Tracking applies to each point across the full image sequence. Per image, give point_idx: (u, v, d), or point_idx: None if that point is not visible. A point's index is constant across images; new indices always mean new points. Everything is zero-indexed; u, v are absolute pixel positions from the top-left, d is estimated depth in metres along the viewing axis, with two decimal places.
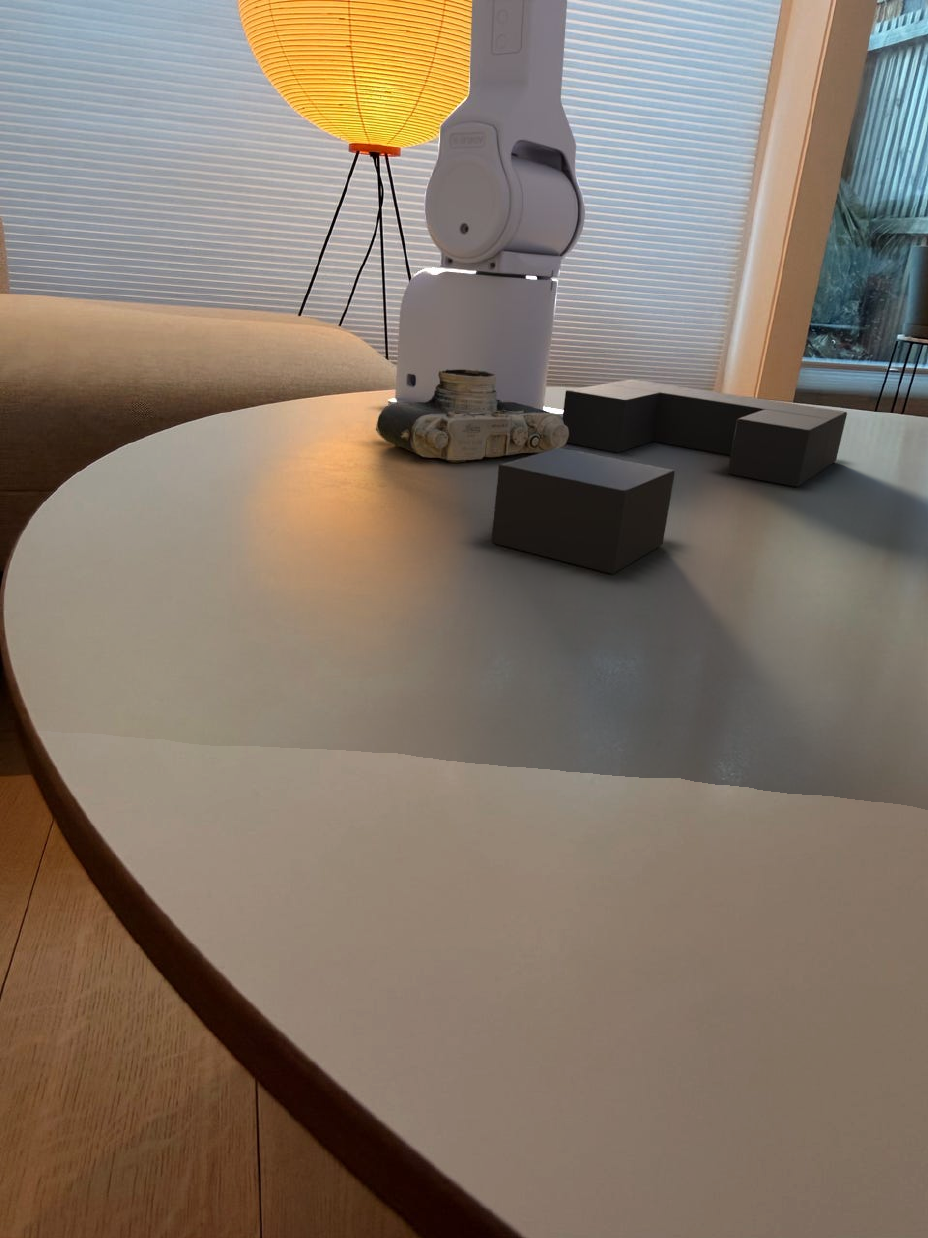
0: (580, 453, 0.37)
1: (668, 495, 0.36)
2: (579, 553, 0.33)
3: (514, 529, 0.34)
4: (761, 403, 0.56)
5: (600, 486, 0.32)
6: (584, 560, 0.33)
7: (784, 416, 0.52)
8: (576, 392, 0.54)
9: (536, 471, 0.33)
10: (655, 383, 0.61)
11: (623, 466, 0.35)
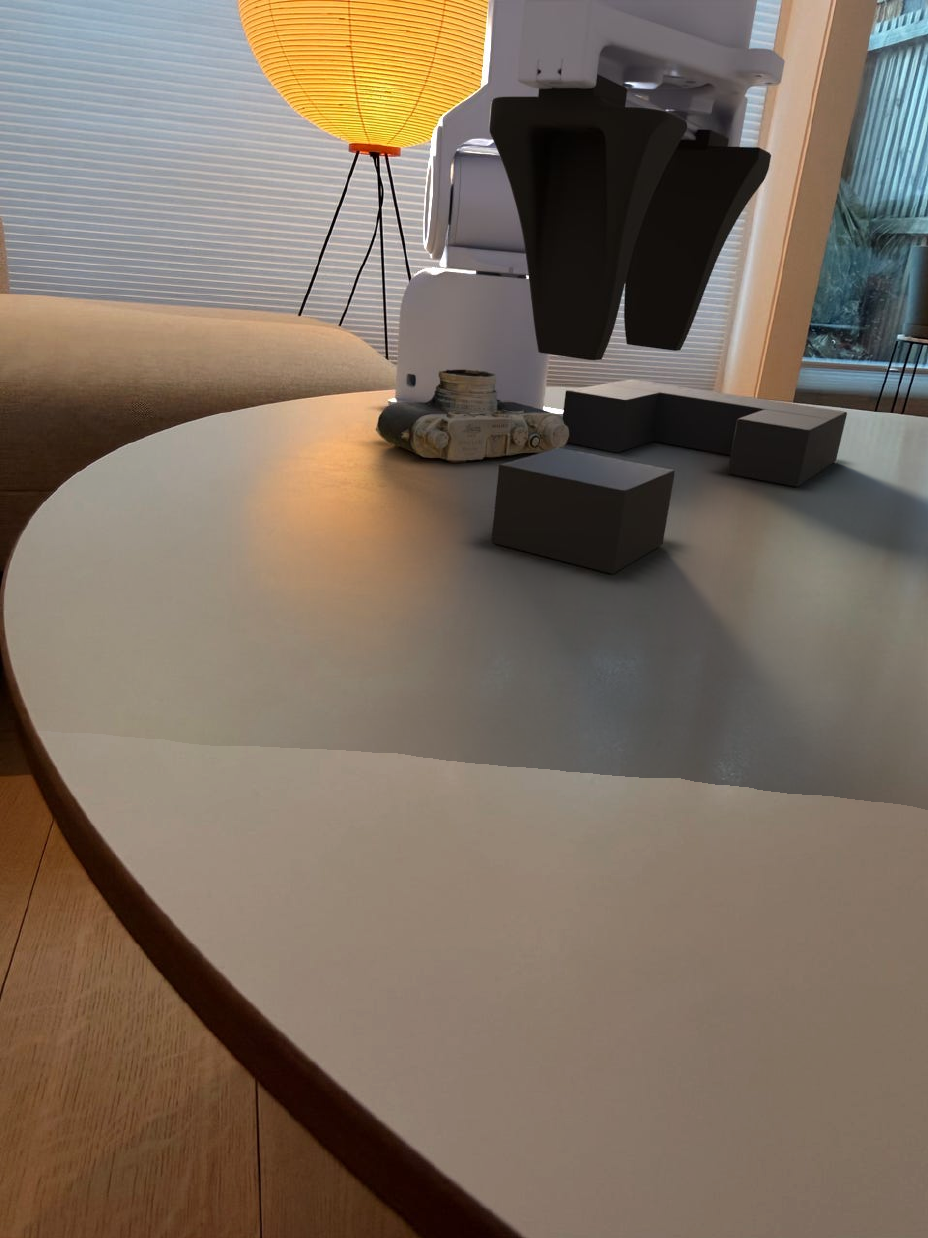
0: (580, 453, 0.37)
1: (668, 495, 0.36)
2: (579, 553, 0.33)
3: (514, 529, 0.34)
4: (761, 403, 0.56)
5: (600, 486, 0.32)
6: (584, 560, 0.33)
7: (784, 416, 0.52)
8: (576, 392, 0.54)
9: (536, 471, 0.33)
10: (655, 383, 0.61)
11: (623, 466, 0.35)
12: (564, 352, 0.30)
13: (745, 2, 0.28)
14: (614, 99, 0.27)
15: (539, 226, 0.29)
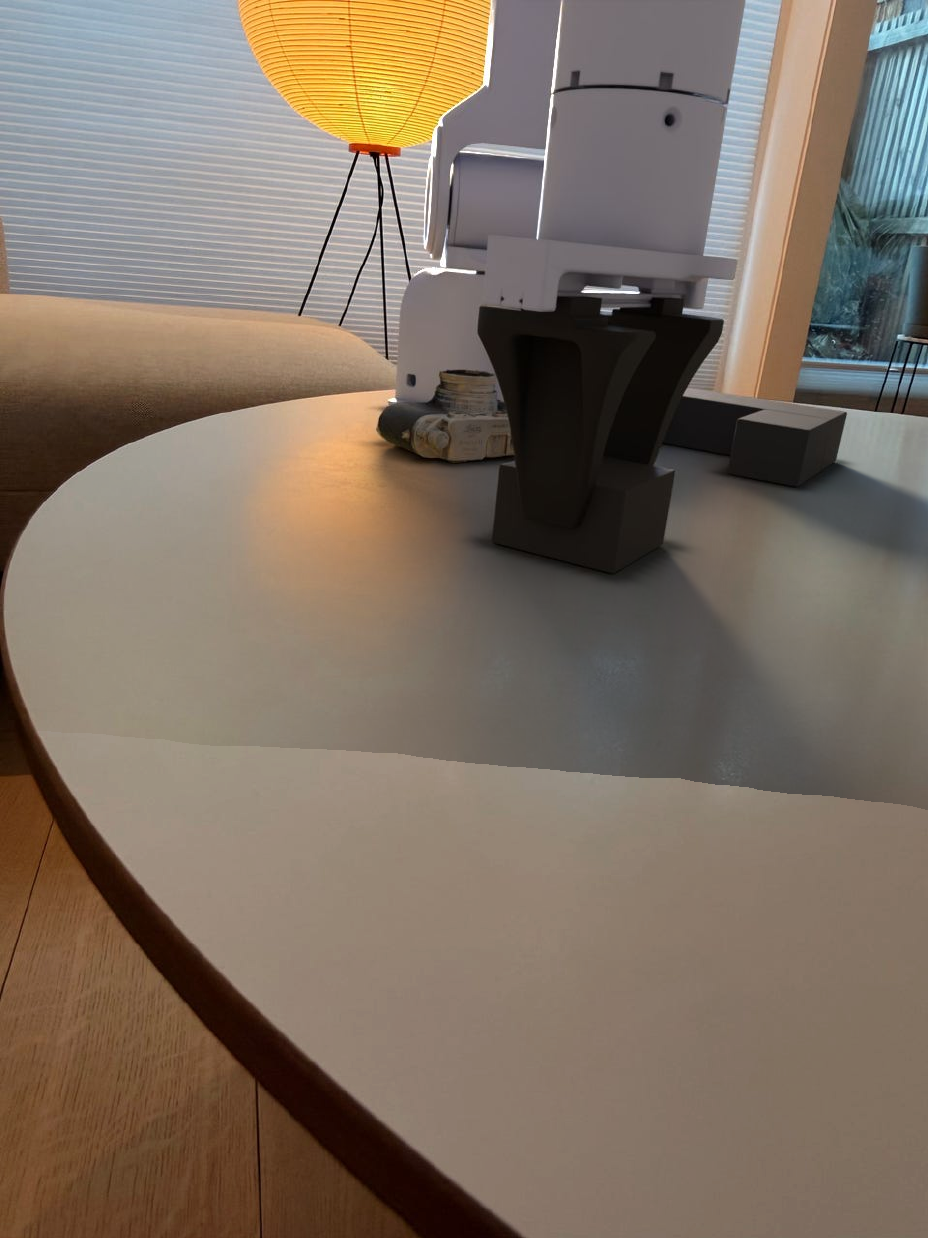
0: None
1: (669, 495, 0.36)
2: (579, 553, 0.33)
3: (514, 529, 0.34)
4: (761, 403, 0.56)
5: (601, 486, 0.32)
6: (584, 560, 0.33)
7: (784, 416, 0.52)
8: None
9: None
10: None
11: (623, 466, 0.36)
12: (546, 520, 0.33)
13: (699, 211, 0.30)
14: (589, 311, 0.29)
15: (523, 412, 0.32)
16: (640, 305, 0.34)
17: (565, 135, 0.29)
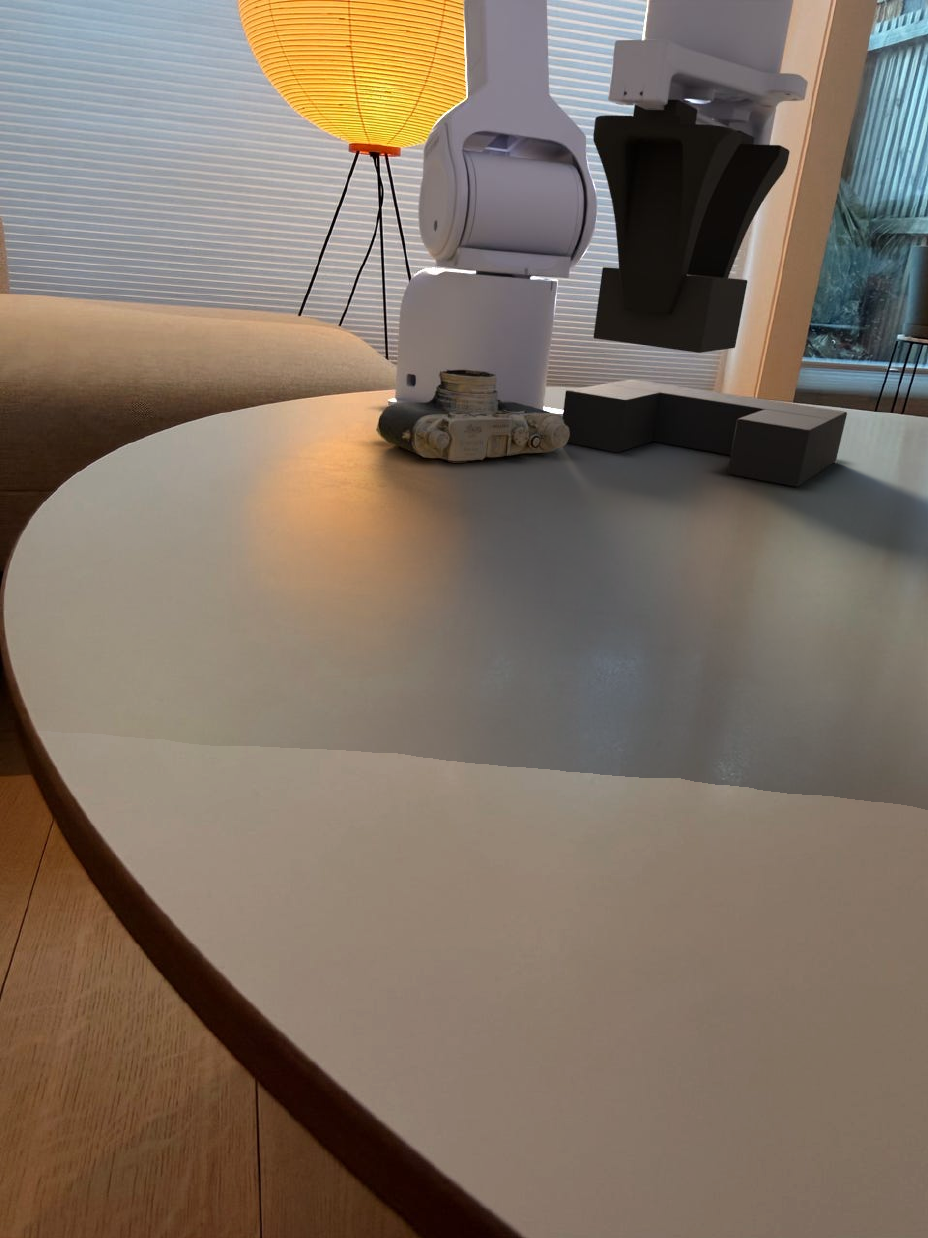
0: None
1: (742, 301, 0.42)
2: (671, 337, 0.40)
3: (614, 323, 0.41)
4: (761, 403, 0.56)
5: (691, 275, 0.39)
6: (675, 343, 0.40)
7: (784, 416, 0.52)
8: (576, 392, 0.54)
9: None
10: (655, 383, 0.61)
11: None
12: (644, 308, 0.39)
13: (777, 37, 0.36)
14: (688, 117, 0.36)
15: (627, 212, 0.38)
16: None
17: None
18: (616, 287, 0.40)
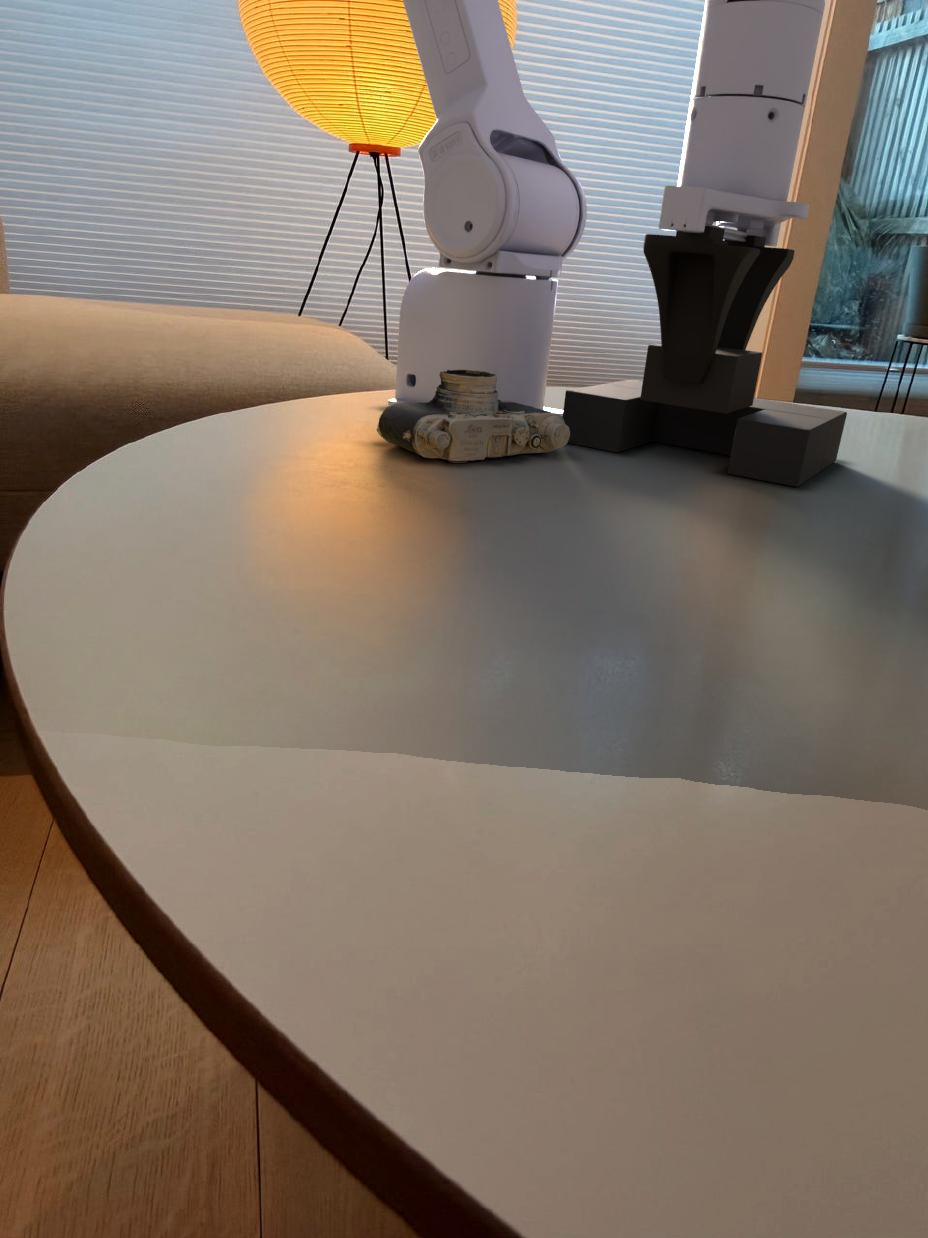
0: None
1: (758, 369, 0.53)
2: (703, 401, 0.50)
3: (657, 388, 0.52)
4: (761, 403, 0.56)
5: (720, 354, 0.49)
6: (707, 406, 0.50)
7: (784, 416, 0.52)
8: (576, 392, 0.54)
9: None
10: None
11: (728, 349, 0.53)
12: (681, 379, 0.50)
13: (786, 174, 0.47)
14: (718, 236, 0.47)
15: (669, 305, 0.49)
16: (740, 239, 0.51)
17: (703, 125, 0.47)
18: (659, 361, 0.51)
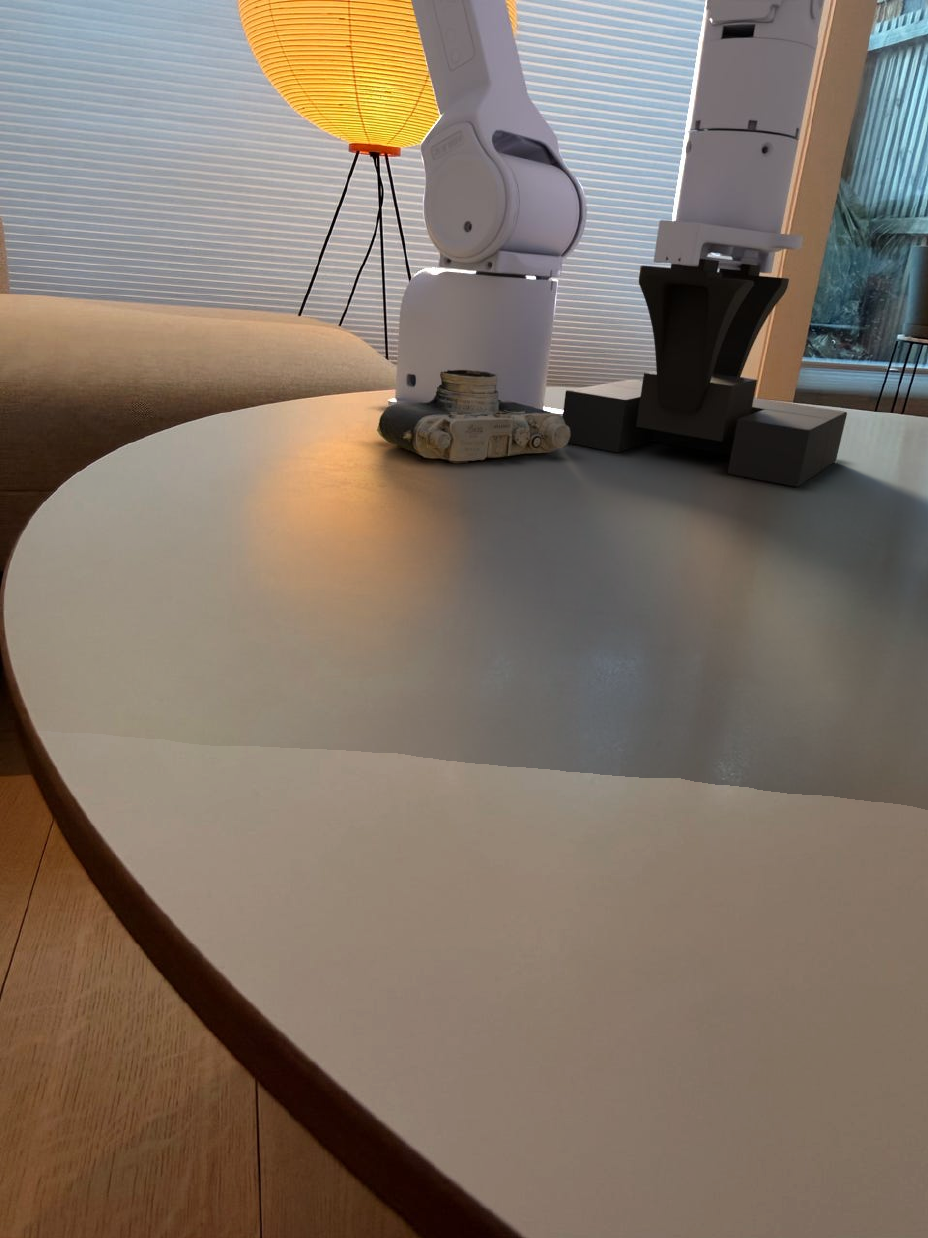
0: None
1: (752, 396, 0.53)
2: (698, 429, 0.51)
3: (653, 416, 0.52)
4: (761, 403, 0.56)
5: (715, 383, 0.50)
6: (702, 433, 0.51)
7: (784, 416, 0.52)
8: (576, 392, 0.54)
9: None
10: None
11: (723, 376, 0.53)
12: (676, 407, 0.51)
13: (780, 206, 0.48)
14: (712, 268, 0.47)
15: (664, 335, 0.49)
16: (735, 268, 0.52)
17: (697, 158, 0.47)
18: (655, 389, 0.52)
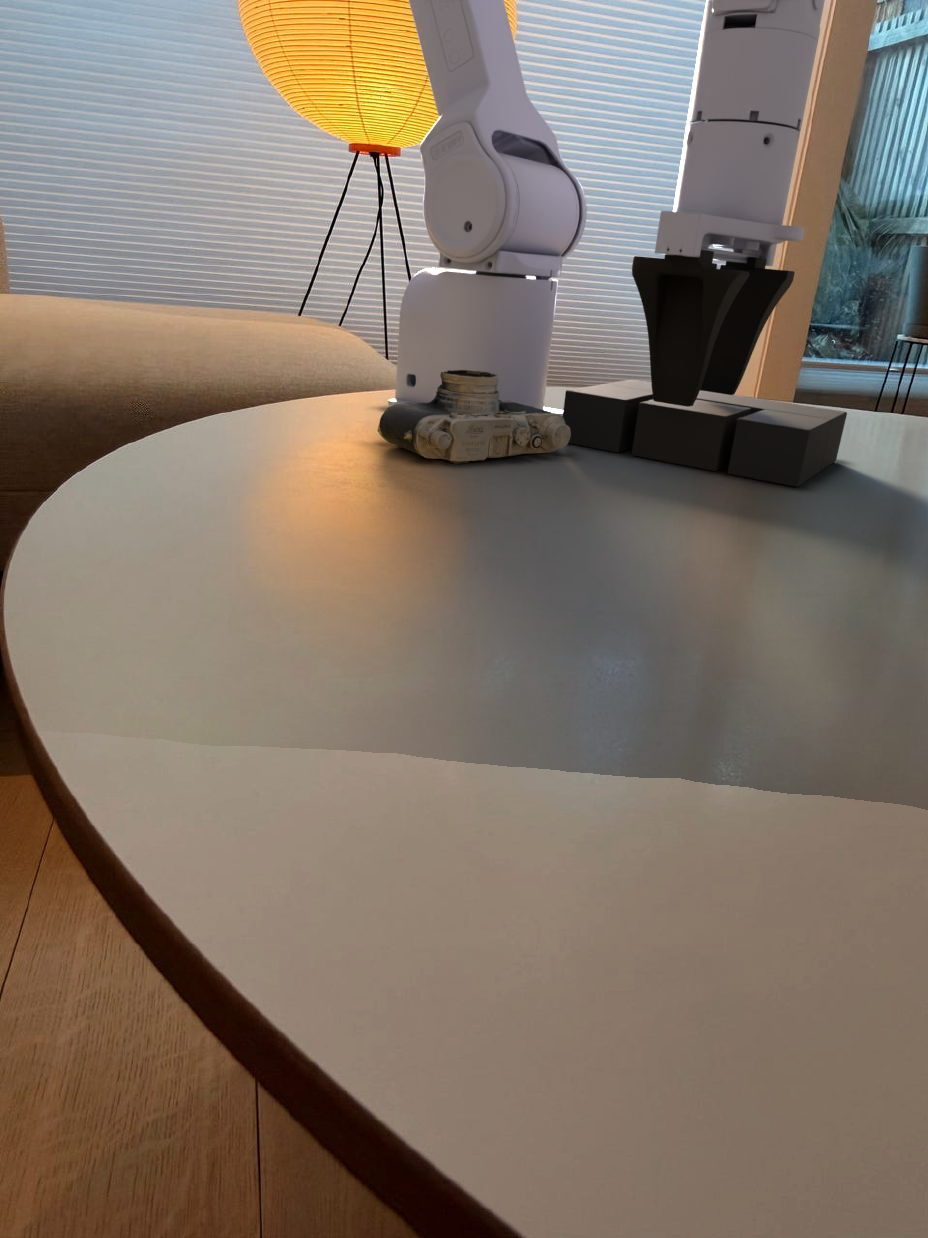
0: None
1: None
2: (693, 458, 0.52)
3: (648, 445, 0.53)
4: (761, 403, 0.56)
5: (709, 413, 0.50)
6: (696, 463, 0.51)
7: (784, 416, 0.52)
8: (576, 392, 0.54)
9: (665, 406, 0.52)
10: None
11: (717, 405, 0.54)
12: (670, 401, 0.50)
13: (782, 197, 0.47)
14: (707, 259, 0.46)
15: (658, 327, 0.48)
16: (736, 260, 0.52)
17: (699, 149, 0.47)
18: (650, 418, 0.52)
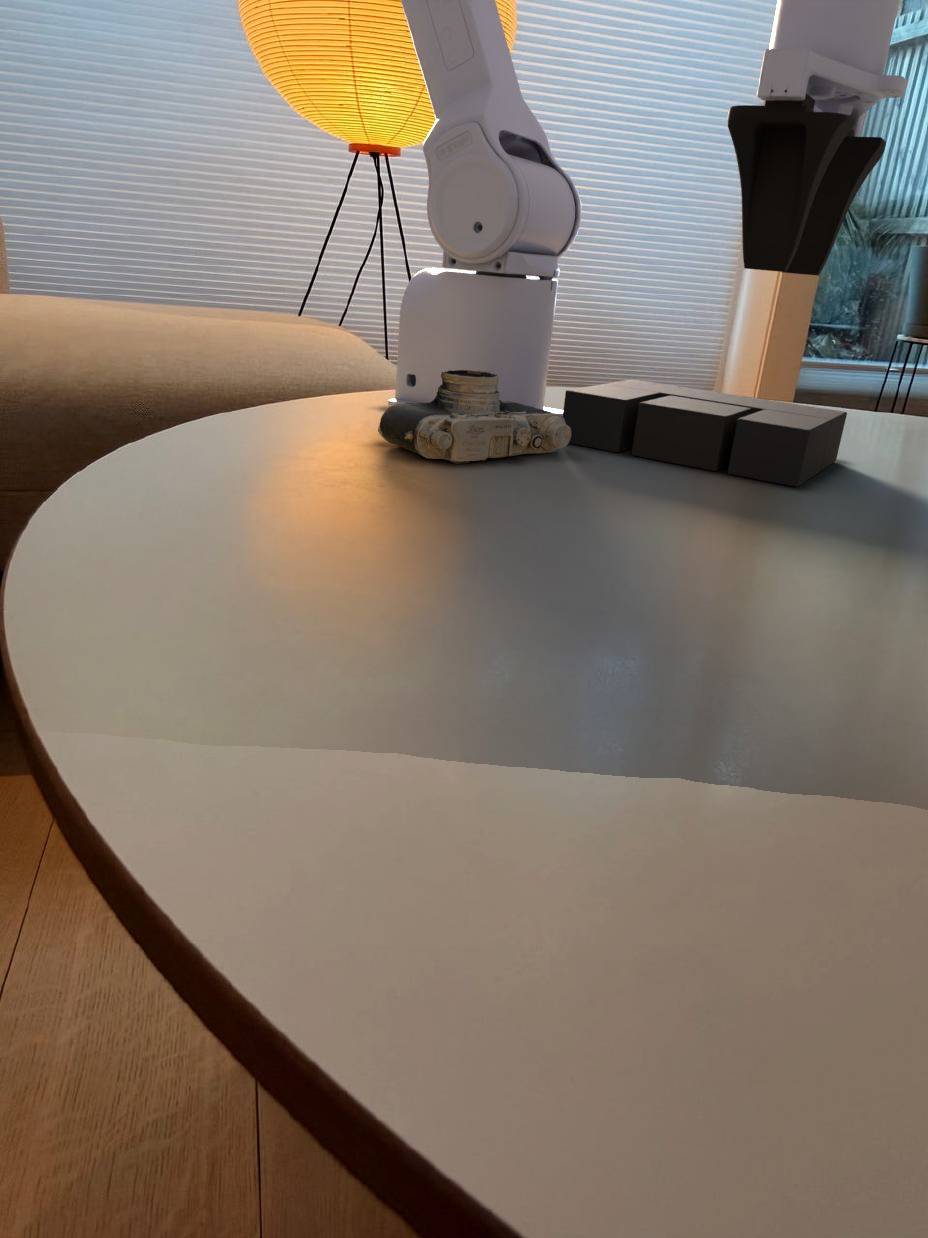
0: (686, 398, 0.55)
1: None
2: (693, 458, 0.52)
3: (648, 445, 0.53)
4: (761, 403, 0.56)
5: (709, 413, 0.50)
6: (696, 463, 0.51)
7: (784, 416, 0.52)
8: (576, 392, 0.54)
9: (665, 406, 0.52)
10: (655, 383, 0.61)
11: (717, 405, 0.54)
12: (763, 267, 0.47)
13: (884, 46, 0.45)
14: (809, 107, 0.44)
15: (752, 186, 0.46)
16: None
17: None
18: (650, 418, 0.52)
